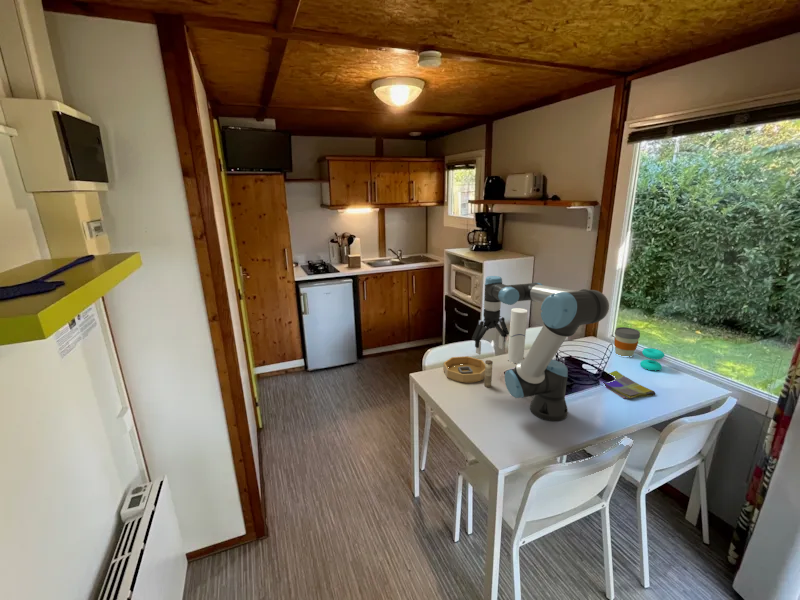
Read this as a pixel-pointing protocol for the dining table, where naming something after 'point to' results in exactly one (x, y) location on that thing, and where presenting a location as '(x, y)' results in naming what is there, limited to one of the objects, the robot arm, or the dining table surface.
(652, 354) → the donuts
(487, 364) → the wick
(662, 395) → the dining table surface
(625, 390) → the dish towel
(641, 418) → the dining table surface
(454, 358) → the octagonal shallow tray
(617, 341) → the reusable coffee cup
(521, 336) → the container
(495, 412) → the dining table surface
